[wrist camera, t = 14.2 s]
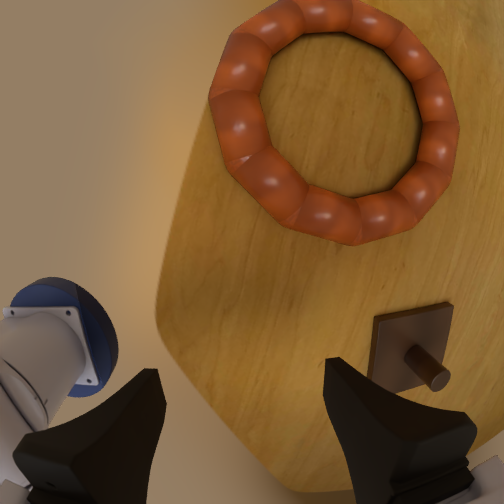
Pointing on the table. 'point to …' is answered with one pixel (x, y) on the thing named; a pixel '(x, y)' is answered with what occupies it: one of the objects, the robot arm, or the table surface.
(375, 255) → the table surface
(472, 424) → the robot arm
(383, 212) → the ring
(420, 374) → the square peg base
